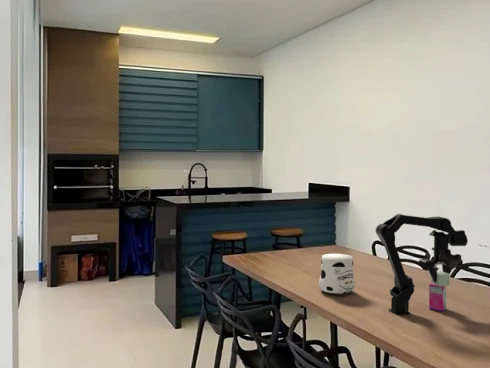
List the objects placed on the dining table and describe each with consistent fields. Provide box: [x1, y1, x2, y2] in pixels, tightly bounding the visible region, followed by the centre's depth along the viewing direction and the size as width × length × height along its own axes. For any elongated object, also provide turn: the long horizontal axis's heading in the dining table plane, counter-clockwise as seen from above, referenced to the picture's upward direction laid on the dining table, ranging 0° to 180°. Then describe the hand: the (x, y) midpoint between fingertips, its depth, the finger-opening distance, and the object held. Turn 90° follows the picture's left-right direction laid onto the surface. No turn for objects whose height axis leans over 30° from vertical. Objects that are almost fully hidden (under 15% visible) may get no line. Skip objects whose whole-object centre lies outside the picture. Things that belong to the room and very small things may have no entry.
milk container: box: [318, 253, 356, 296], centre depth 228 cm, size 17×17×18 cm
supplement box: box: [428, 282, 447, 313], centre depth 203 cm, size 6×6×12 cm
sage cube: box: [430, 270, 450, 287], centre depth 199 cm, size 5×5×5 cm
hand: (440, 282), depth 199 cm, fingers closed on sage cube, 5 cm apart
